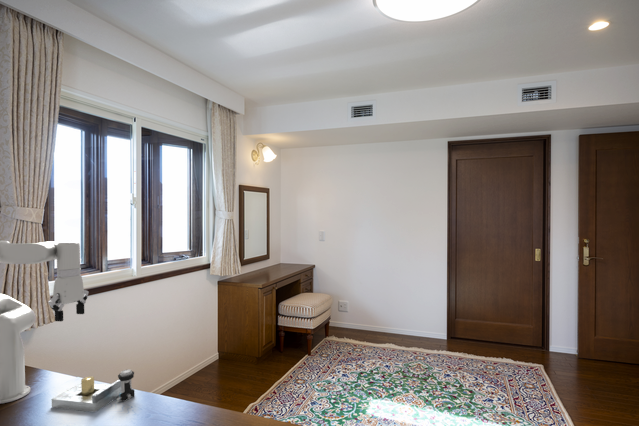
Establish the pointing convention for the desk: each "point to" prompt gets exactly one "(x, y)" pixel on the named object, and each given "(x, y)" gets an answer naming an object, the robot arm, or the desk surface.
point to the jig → (83, 403)
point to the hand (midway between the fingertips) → (70, 317)
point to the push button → (126, 385)
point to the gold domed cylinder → (87, 386)
